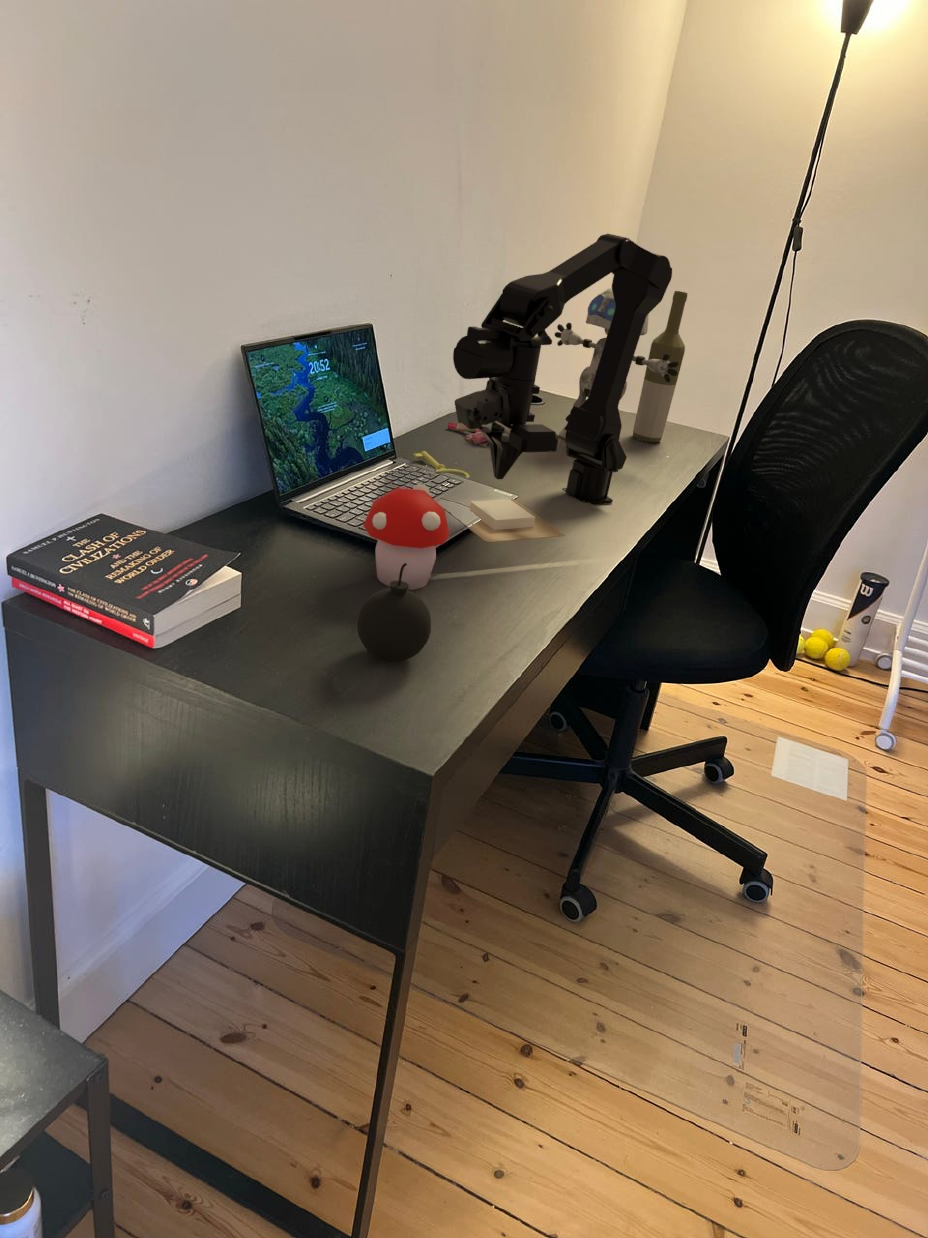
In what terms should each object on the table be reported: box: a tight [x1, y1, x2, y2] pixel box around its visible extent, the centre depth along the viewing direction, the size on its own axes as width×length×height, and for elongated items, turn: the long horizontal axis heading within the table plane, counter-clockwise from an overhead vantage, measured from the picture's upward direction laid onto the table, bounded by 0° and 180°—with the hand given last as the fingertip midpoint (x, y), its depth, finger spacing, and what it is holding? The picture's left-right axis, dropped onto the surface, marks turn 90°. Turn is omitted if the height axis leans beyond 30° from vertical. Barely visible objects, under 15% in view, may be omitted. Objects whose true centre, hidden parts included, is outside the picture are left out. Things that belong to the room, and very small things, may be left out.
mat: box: [468, 497, 567, 543], centre depth 144 cm, size 14×16×1 cm
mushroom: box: [362, 483, 451, 591], centre depth 119 cm, size 11×11×12 cm
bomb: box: [356, 563, 432, 663], centre depth 100 cm, size 8×8×12 cm
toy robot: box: [554, 288, 679, 447], centre depth 185 cm, size 31×12×30 cm, turn 42°
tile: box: [469, 499, 535, 530], centre depth 143 cm, size 7×2×8 cm
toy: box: [447, 421, 489, 446], centre depth 182 cm, size 7×6×15 cm
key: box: [412, 450, 470, 479], centre depth 161 cm, size 7×12×2 cm, turn 49°
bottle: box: [632, 290, 688, 443], centre depth 194 cm, size 7×7×30 cm
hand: (498, 478), depth 143 cm, fingers closed
